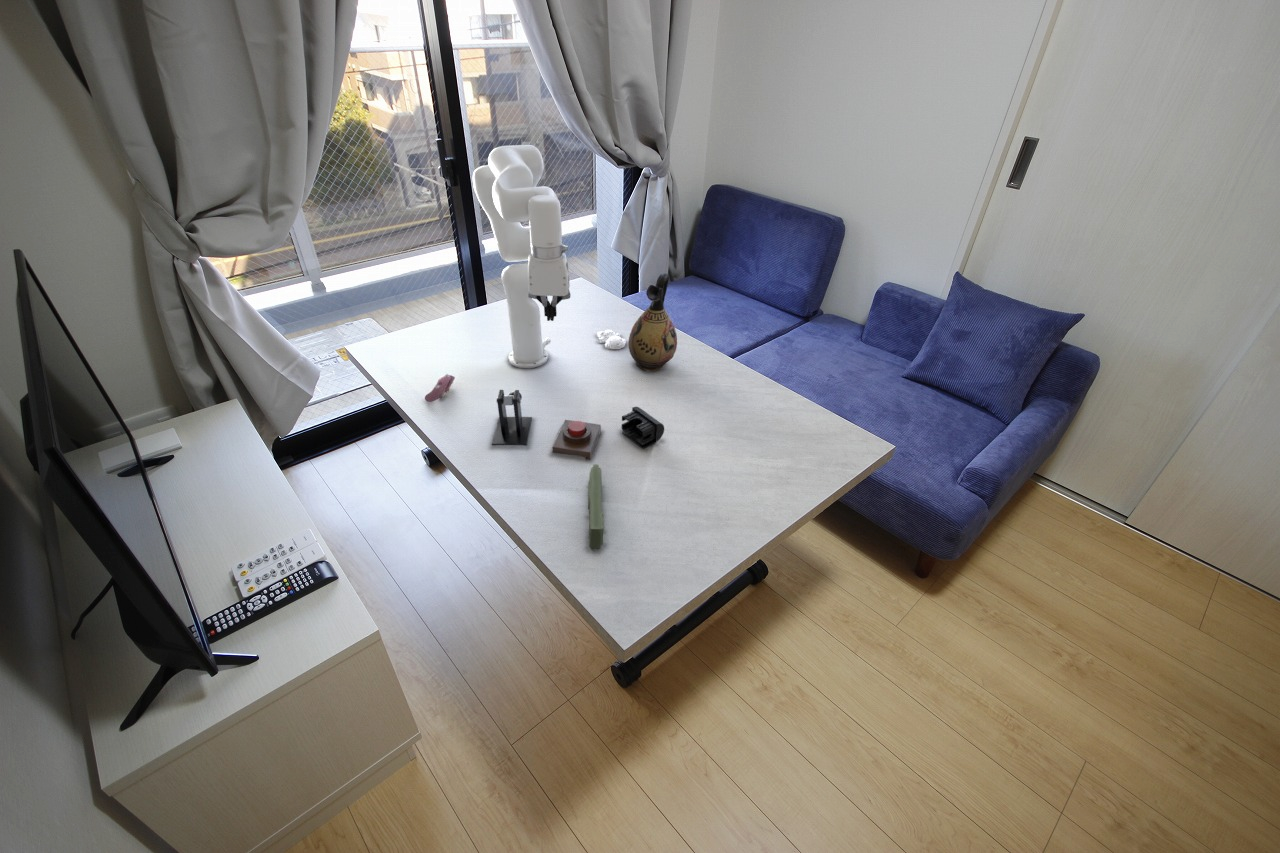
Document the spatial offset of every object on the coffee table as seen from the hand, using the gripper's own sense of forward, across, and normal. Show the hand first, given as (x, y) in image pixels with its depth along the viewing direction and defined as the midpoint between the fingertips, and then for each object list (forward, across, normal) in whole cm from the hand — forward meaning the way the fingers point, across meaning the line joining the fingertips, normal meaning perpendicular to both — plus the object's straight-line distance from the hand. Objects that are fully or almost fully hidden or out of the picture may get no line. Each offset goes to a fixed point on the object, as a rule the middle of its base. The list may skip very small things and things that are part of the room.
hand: (550, 318), depth 149 cm
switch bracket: (+27, +10, +15) cm, 33 cm away
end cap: (+27, -25, +15) cm, 40 cm away
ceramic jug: (+27, -30, -23) cm, 46 cm away
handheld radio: (+27, -13, +42) cm, 52 cm away
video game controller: (+27, +33, -3) cm, 43 cm away
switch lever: (+20, +10, +11) cm, 25 cm away
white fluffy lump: (+27, -16, -37) cm, 49 cm away
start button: (+23, -7, +19) cm, 31 cm away
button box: (+27, -7, +19) cm, 34 cm away
